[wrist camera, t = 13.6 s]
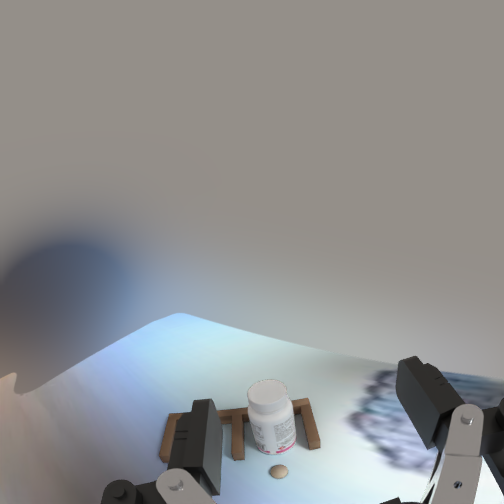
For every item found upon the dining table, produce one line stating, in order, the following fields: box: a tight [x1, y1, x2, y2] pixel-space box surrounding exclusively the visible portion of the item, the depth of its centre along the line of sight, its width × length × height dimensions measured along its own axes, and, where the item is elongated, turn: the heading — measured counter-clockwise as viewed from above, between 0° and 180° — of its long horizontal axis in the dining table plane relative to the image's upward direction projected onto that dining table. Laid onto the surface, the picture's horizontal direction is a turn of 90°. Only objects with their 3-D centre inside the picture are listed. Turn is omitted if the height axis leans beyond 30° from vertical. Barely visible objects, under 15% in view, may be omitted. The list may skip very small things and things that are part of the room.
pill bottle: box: [247, 380, 296, 455], centre depth 30 cm, size 5×5×8 cm
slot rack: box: [159, 398, 320, 479], centre depth 31 cm, size 18×11×2 cm, turn 92°
